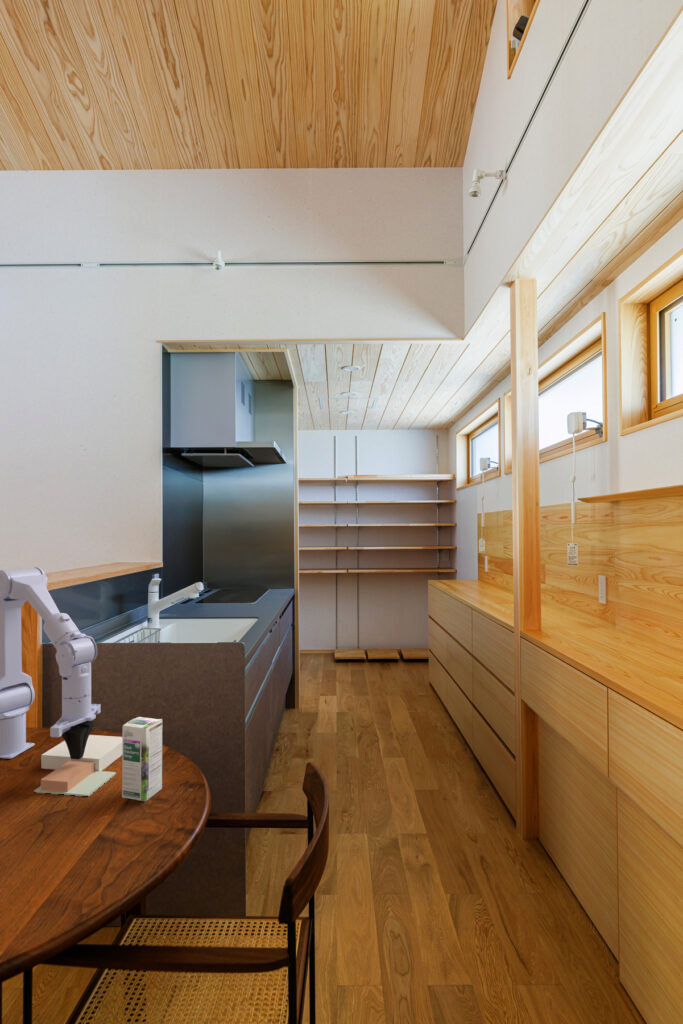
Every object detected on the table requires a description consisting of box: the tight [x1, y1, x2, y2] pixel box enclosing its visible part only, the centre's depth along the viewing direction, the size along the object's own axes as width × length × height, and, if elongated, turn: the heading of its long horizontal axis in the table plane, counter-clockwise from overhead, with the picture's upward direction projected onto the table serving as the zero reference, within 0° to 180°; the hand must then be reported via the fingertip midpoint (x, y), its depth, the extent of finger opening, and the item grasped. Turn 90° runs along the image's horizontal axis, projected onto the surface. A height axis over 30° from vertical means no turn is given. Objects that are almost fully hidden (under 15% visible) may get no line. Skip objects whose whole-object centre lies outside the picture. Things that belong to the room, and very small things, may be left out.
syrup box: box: [121, 716, 163, 803], centre depth 113 cm, size 6×6×14 cm
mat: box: [33, 770, 117, 797], centre depth 117 cm, size 12×10×1 cm
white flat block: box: [40, 734, 122, 771], centre depth 129 cm, size 14×12×3 cm
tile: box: [40, 761, 94, 792], centre depth 117 cm, size 6×9×2 cm, turn 171°
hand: (76, 757), depth 120 cm, fingers closed
